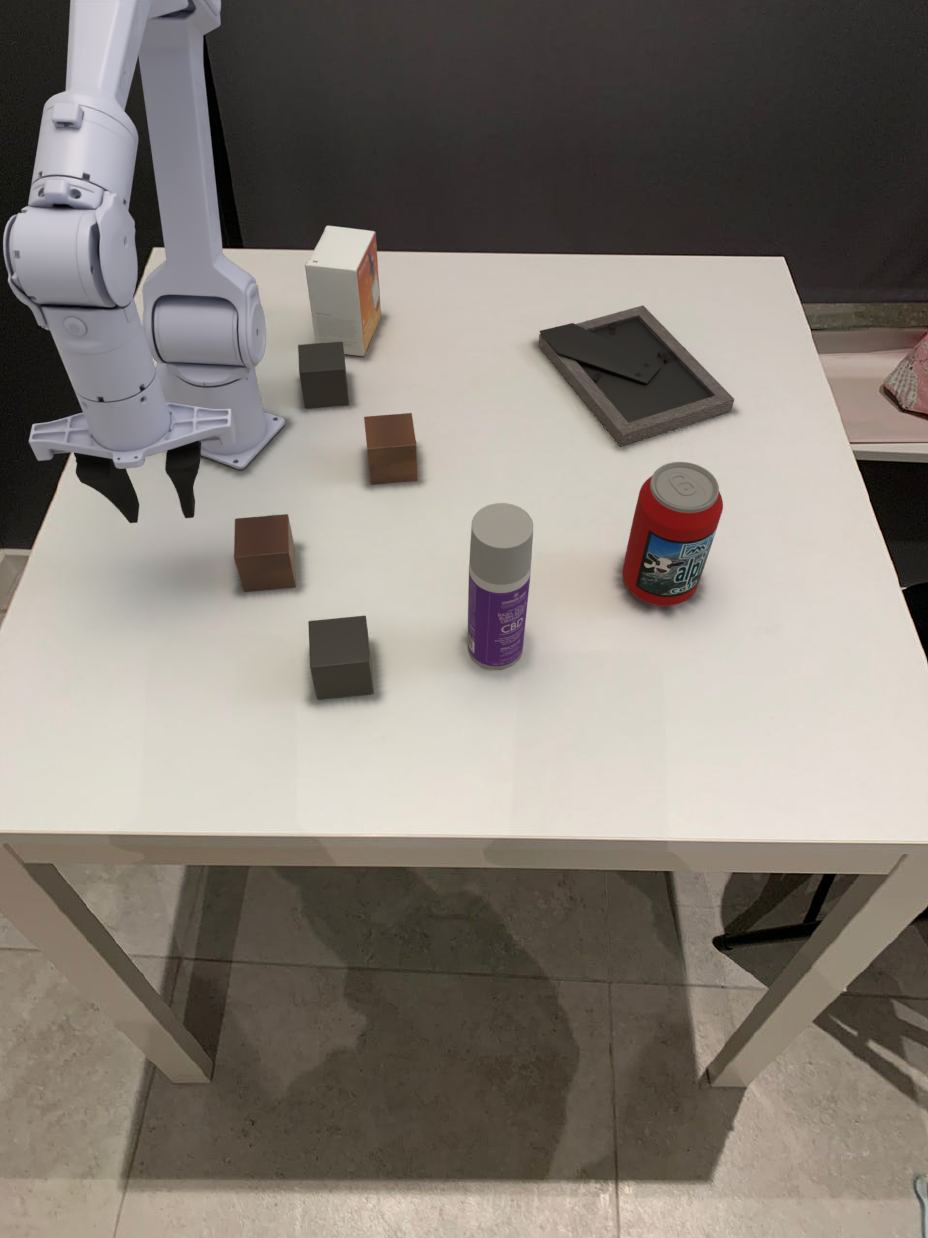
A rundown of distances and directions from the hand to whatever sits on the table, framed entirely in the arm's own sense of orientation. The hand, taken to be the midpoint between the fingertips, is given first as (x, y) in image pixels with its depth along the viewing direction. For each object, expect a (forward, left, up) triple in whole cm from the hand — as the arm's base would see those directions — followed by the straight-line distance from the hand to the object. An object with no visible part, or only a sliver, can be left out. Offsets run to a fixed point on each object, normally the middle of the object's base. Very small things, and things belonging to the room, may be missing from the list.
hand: (162, 511), depth 76 cm
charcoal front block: (+18, -3, -8) cm, 20 cm away
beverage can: (+38, +18, -9) cm, 43 cm away
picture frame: (+26, +44, -9) cm, 52 cm away
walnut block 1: (+6, +4, -8) cm, 11 cm away
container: (+28, +5, -9) cm, 30 cm away
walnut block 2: (+10, +21, -8) cm, 24 cm away
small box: (-5, +37, -9) cm, 39 cm away
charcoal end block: (-2, +27, -8) cm, 29 cm away
